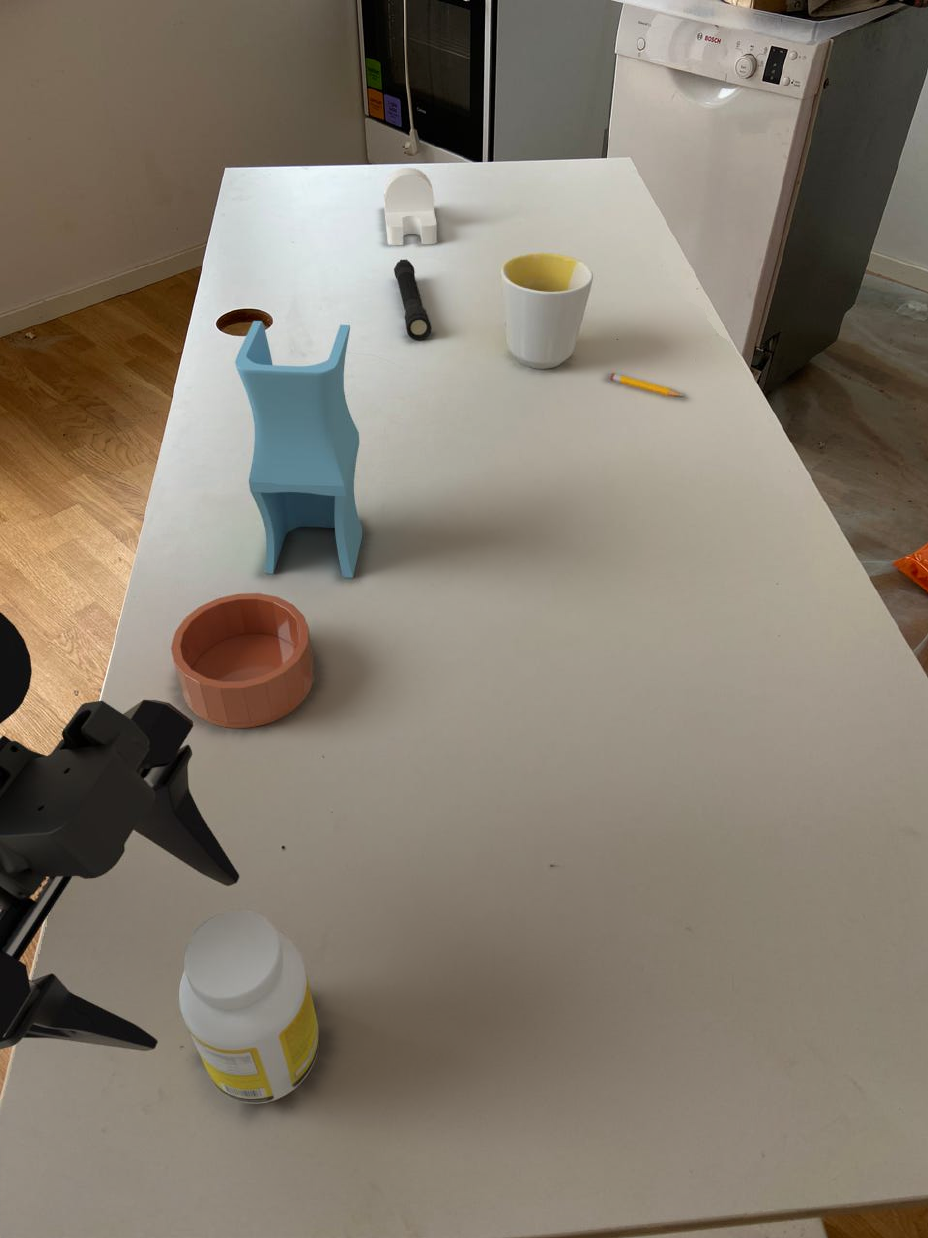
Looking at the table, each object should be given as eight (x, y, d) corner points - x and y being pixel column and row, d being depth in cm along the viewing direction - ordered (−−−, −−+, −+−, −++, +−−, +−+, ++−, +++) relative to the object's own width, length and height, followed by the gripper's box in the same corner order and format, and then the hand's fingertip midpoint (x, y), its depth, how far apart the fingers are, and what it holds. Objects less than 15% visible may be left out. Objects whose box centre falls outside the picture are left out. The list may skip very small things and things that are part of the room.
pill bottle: (317, 987, 58) (296, 883, 50) (324, 1097, 54) (303, 1004, 46) (207, 1004, 58) (168, 902, 50) (204, 1118, 53) (161, 1026, 45)
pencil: (612, 377, 111) (613, 372, 111) (684, 396, 108) (685, 391, 108) (610, 380, 111) (610, 375, 110) (681, 400, 108) (682, 394, 107)
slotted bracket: (384, 209, 146) (382, 155, 141) (430, 208, 147) (429, 154, 141) (388, 245, 137) (385, 188, 131) (437, 244, 137) (436, 187, 132)
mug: (590, 378, 111) (600, 290, 104) (501, 380, 110) (505, 292, 103) (573, 322, 121) (581, 238, 113) (491, 323, 120) (494, 239, 113)
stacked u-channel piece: (365, 523, 91) (351, 323, 77) (353, 578, 85) (335, 373, 72) (282, 518, 91) (253, 319, 78) (264, 573, 86) (229, 369, 72)
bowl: (194, 743, 72) (182, 703, 69) (173, 650, 79) (162, 610, 76) (328, 708, 74) (323, 667, 71) (297, 621, 81) (291, 581, 78)
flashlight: (406, 341, 117) (406, 317, 115) (393, 281, 128) (392, 259, 126) (431, 339, 117) (431, 316, 115) (415, 280, 129) (415, 257, 127)
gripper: (-168, 932, 32) (195, 1142, 38) (117, 577, 46) (355, 772, 51) (-247, 982, 39) (70, 1153, 45) (20, 661, 52) (240, 825, 58)
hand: (196, 959), depth 50 cm, fingers open, 9 cm apart
